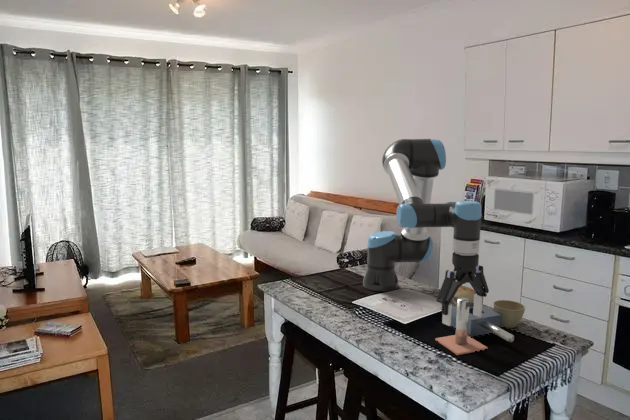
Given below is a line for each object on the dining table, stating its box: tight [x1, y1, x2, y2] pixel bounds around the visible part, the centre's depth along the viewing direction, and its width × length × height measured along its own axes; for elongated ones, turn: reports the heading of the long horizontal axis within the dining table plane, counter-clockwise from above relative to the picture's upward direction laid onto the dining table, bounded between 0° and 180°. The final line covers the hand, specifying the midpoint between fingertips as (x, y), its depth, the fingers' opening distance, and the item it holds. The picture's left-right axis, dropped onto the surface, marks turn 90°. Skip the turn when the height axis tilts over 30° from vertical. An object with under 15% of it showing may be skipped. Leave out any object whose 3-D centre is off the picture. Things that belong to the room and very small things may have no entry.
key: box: [452, 296, 474, 345], centre depth 142 cm, size 4×7×14 cm, turn 29°
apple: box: [452, 285, 477, 306], centre depth 173 cm, size 9×9×8 cm
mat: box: [434, 334, 488, 356], centre depth 143 cm, size 11×11×1 cm
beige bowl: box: [493, 299, 526, 329], centre depth 158 cm, size 10×10×7 cm
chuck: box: [450, 305, 515, 343], centre depth 150 cm, size 23×12×6 cm, turn 21°
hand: (462, 319), depth 142 cm, fingers open, 13 cm apart
